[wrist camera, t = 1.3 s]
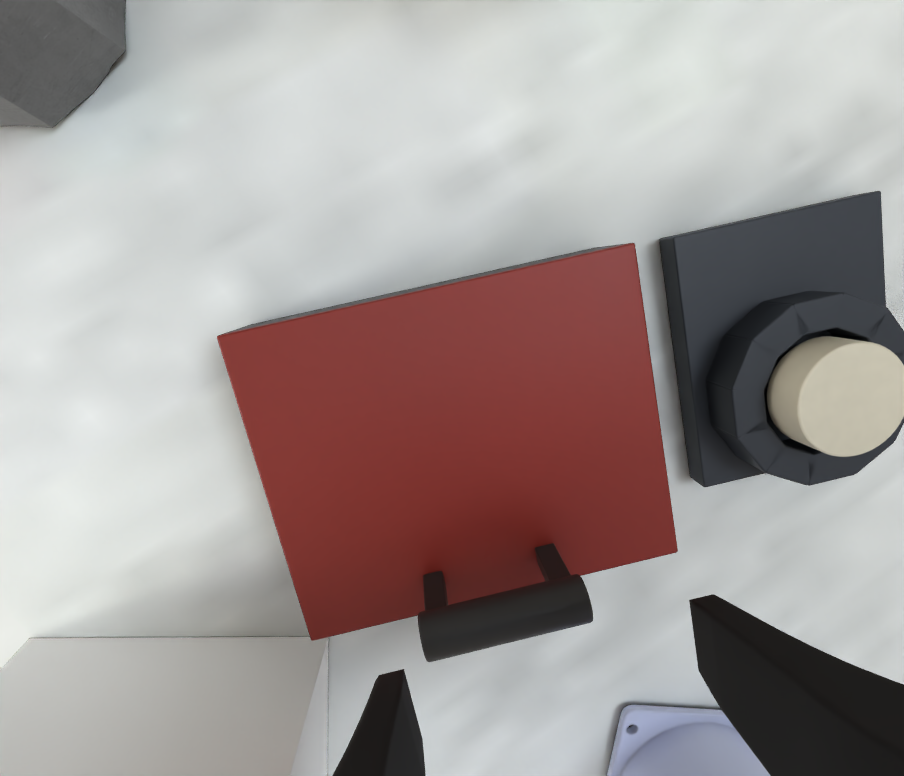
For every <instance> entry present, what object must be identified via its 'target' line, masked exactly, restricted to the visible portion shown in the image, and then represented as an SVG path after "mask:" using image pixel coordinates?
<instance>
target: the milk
mask: <svg viewBox="0 0 904 776" xmlns="http://www.w3.org/2000/svg"><path fill="white" fill-rule="evenodd" d="M327 756H328V637H326V638H322V639H318V640H314V641H312V640H311V638H310V637H168V638H29V639H28V640H27V641H26V642H25V643H24V645H23V646H22V647H21V648H20V649H19V650H18V651H17V652H16V653H15V654H14V655H13V656H12V658H11V659H10V660H9V661H8V662H7V663H6V664H5V665H4V666H3V667H2V668H1V669H0V776H327Z"/></svg>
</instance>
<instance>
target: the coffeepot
mask: <svg viewBox="0 0 904 776" xmlns="http://www.w3.org/2000/svg"><path fill="white" fill-rule="evenodd" d="M124 52H125V0H0V126H36V127H52V128H53V127H54V126H55V125H56V124H57V123H58V122H60V121H61V120H62V119H63V118H64V117H65V116H66V115H68V114H69V113H70V112H71V111H72V110H73V109H74V108H76V107H77V106H78V105H79V104H80V103H81V102H83V101H84V100H85V99H86V98H87V97H89V96H90V95H91V94H92V93H93V92H94V91H95V90H96V89H97V87H98V86H99V85H100V83H101V82H102V81H103V79H104V78H105V77H106V75H107V74H108V73H109V71H110V68H111V66H112V64H113V63H114V62H115V61H116V60H117V59H118V58H119V57H120V56H121V55H122V54H123V53H124Z"/></svg>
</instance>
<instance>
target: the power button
mask: <svg viewBox="0 0 904 776" xmlns="http://www.w3.org/2000/svg"><path fill="white" fill-rule="evenodd" d="M767 407H768V411H769V414H770V417H771V419H772V421H773V423H774V424H775V425H776V427H777V428H778V429H779V430H780V431H781V432H782V433H783V434H784V435H786V436H787V437H789V438H791V439H793V440H795V441H797V442H800V443H802V444H804V445H807V446H809V447H811V448H813V449H816V450H818V451H820V452H823V453H825V454H828V455H832V456H838V457H850V456H856V455H860V454H863V453H866V452H868V451H870V450H873V449H874V448H876V447H878V446H879V445H880V444H882V443H883V442H885V441H886V440H887V439H888V438H889V437H890V436H891V435H892V434H893V432H894V431H895V430H896V429H897V427H898V426H899V424H900V423H901V421H902V419H903V417H904V365H903V363H902V362H901V360H900V359H899V358H898V357H897V356H896V355H895V354H894V353H893V352H892V351H891V350H889V349H887V348H886V347H884V346H882V345H879V344H876V343H872V342H866V341H859V340H853V339H846V338H839V337H832V336H822V337H816V338H813V339H809V340H807V341H805V342H802V343H800V344H799V345H797V346H795V347H794V348H792V349H791V350H790V351H789V352H788V353H787V354H785V355H784V356H783V358H782V359H781V360H780V361H779V363H778V364H777V366H776V367H775V369H774V371H773V373H772V375H771V377H770V380H769V384H768V388H767Z"/></svg>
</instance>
